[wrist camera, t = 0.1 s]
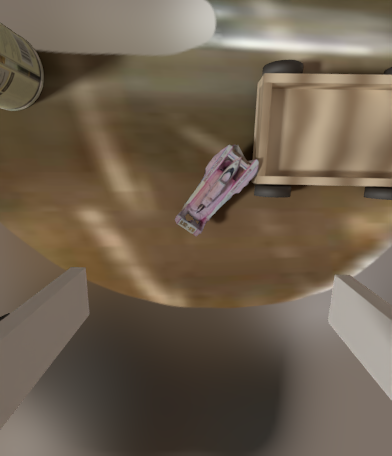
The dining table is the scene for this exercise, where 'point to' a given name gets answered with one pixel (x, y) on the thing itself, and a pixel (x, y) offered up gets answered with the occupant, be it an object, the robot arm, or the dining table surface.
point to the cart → (322, 130)
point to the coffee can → (18, 71)
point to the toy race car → (217, 187)
